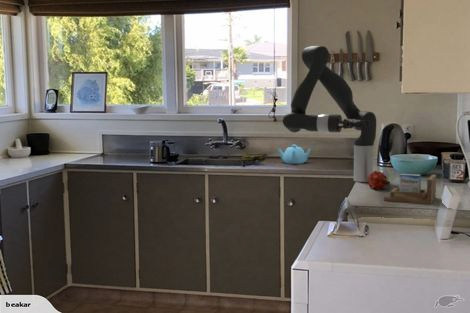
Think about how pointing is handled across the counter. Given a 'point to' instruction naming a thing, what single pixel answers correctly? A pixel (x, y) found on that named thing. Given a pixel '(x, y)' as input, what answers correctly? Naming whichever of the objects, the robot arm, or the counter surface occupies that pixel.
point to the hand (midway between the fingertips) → (367, 124)
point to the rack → (415, 194)
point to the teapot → (294, 155)
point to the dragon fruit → (377, 180)
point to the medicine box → (410, 183)
